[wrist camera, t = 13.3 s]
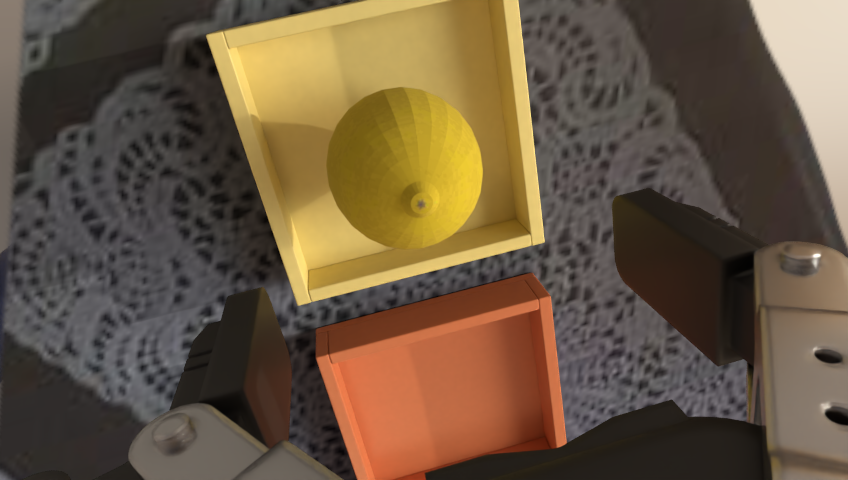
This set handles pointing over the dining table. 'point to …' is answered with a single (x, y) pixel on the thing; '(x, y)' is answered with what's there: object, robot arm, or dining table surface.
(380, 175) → the lemon
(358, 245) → the cream tray
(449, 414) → the terracotta tray
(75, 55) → the dining table surface
